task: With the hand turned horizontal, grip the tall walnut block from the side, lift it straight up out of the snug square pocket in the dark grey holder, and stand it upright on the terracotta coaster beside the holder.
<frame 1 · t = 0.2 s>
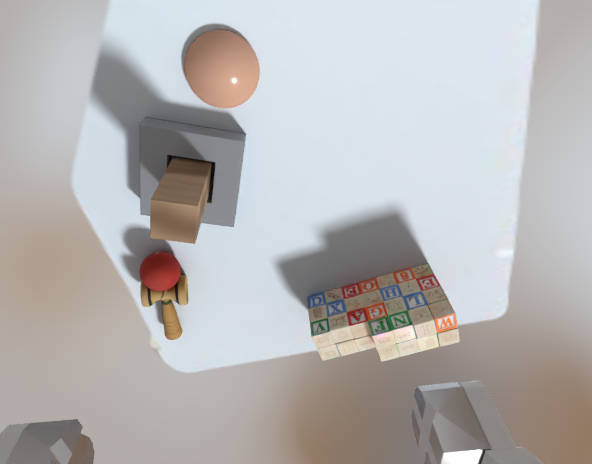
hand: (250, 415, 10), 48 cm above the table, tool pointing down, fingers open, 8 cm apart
terracotta coaster: (222, 70, 51), on the table
walnut block: (184, 193, 52), in the pocket holder
pocket holder: (193, 170, 58), on the table
stack of blocks: (370, 291, 72), on the table
kendama: (170, 288, 70), on the table
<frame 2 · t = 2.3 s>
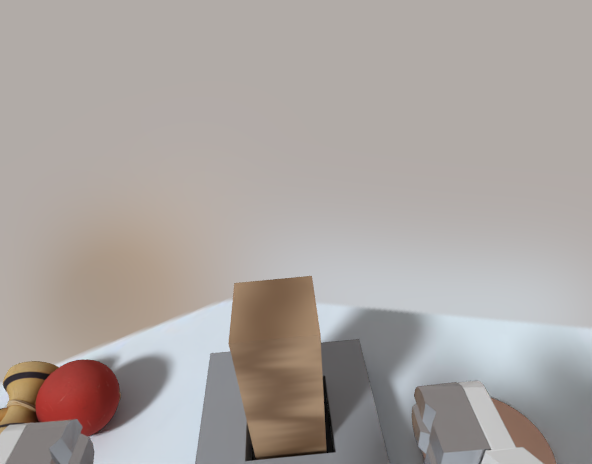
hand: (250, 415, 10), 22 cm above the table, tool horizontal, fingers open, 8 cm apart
terracotta coaster: (484, 453, 30), on the table
walnut block: (283, 381, 28), in the pocket holder
pocket holder: (291, 437, 32), on the table
kendama: (16, 438, 34), on the table
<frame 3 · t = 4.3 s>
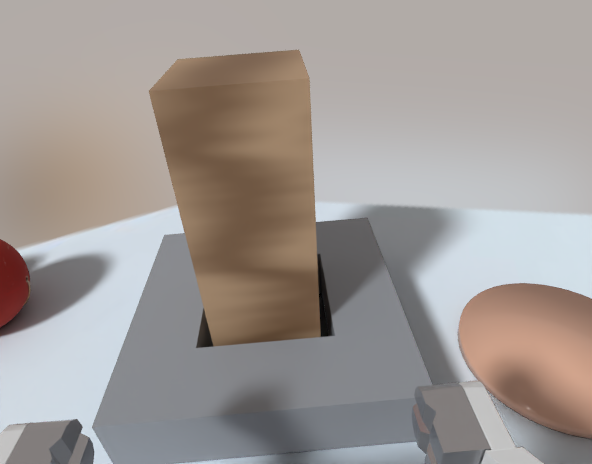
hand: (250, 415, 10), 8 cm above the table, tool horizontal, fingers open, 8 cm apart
terracotta coaster: (553, 351, 21), on the table
walnut block: (256, 229, 19), in the pocket holder
pocket holder: (271, 336, 23), on the table
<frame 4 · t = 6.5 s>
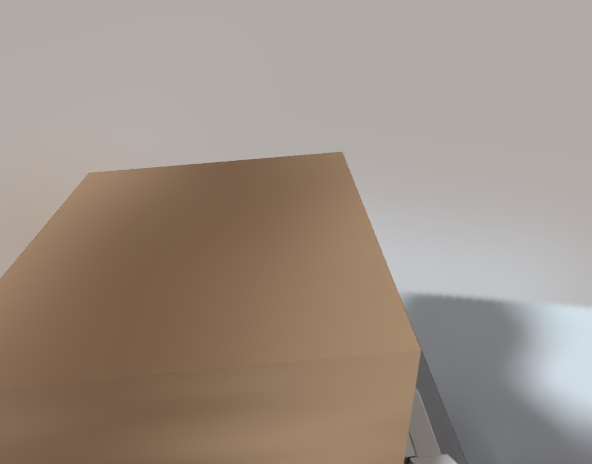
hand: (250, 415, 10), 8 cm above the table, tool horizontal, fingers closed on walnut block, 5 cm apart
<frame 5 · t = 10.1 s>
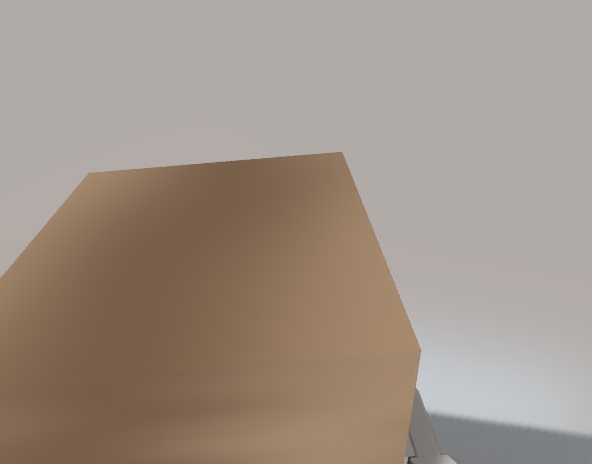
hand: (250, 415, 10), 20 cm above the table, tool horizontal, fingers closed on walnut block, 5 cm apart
when the fingers open (10 cm above the table, at t = 13.5 s): walnut block drops 1 cm, resting on terracotta coaster.
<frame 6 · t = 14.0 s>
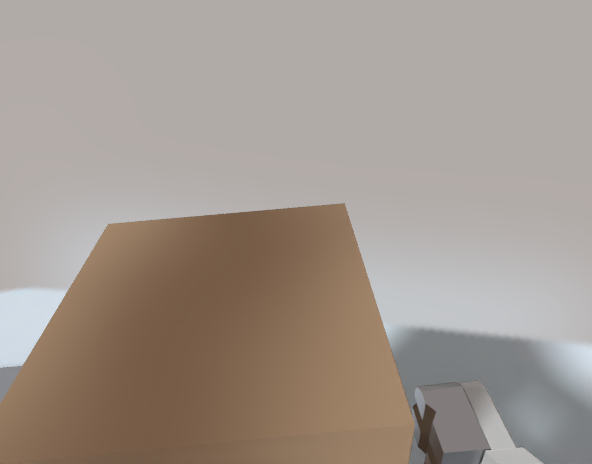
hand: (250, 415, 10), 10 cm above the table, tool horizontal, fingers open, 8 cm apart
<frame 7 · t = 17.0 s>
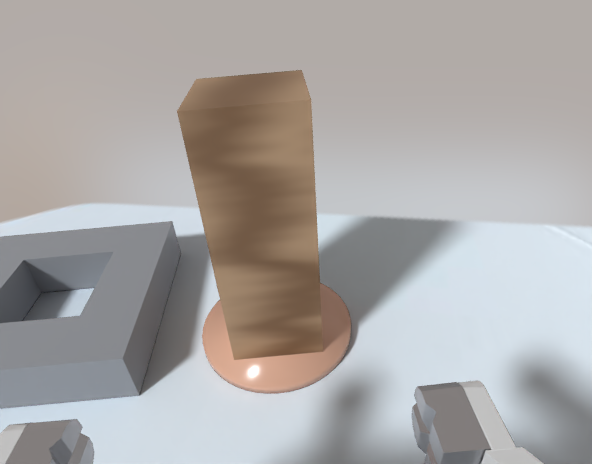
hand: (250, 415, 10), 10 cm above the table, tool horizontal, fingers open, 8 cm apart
terracotta coaster: (277, 329, 26), on the table
walnut block: (265, 226, 21), on the terracotta coaster, point 8 cm above the table
pocket holder: (66, 319, 28), on the table
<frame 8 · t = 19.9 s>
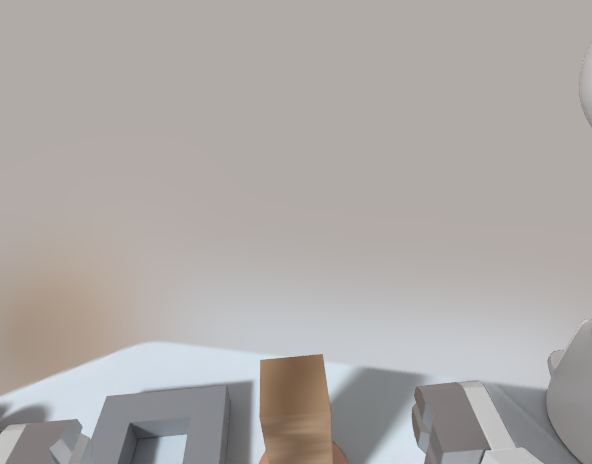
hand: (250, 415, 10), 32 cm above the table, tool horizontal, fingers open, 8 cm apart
walnut block: (299, 435, 35), on the terracotta coaster, point 8 cm above the table
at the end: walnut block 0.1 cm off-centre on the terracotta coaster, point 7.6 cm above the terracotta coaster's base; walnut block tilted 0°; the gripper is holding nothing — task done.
